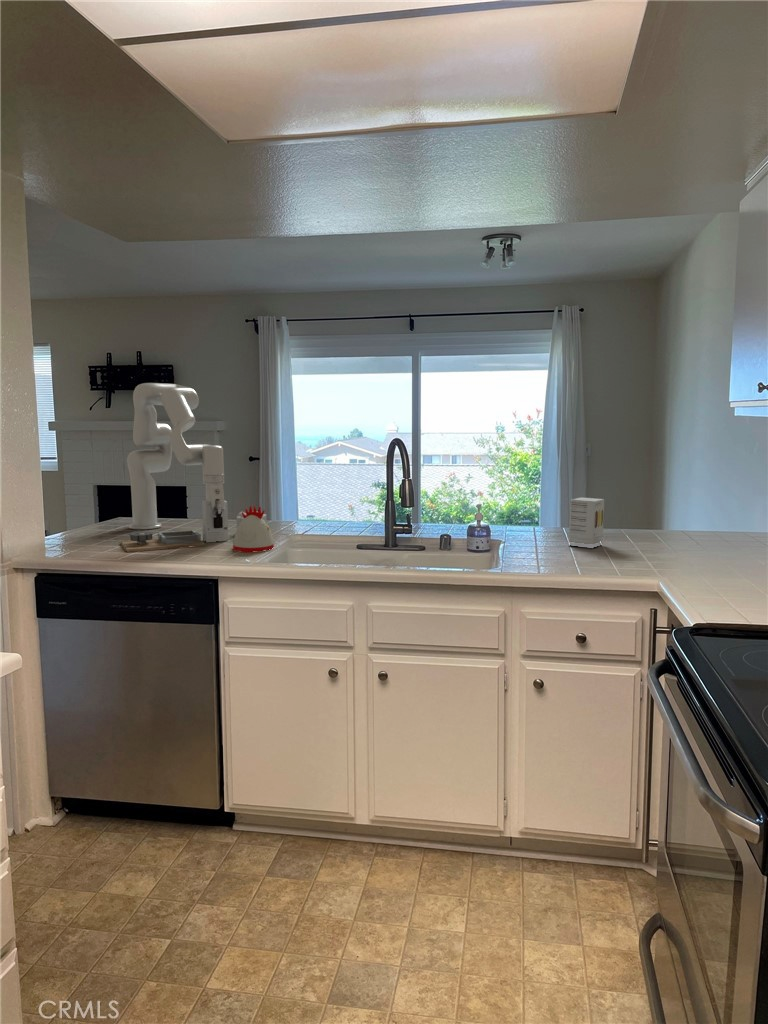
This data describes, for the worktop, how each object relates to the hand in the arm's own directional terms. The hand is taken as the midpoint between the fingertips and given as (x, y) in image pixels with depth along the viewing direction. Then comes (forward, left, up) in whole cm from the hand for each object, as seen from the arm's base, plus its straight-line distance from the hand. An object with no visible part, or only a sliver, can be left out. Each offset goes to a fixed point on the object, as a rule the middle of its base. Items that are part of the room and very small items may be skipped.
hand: (215, 526), depth 263 cm
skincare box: (0, 0, -6) cm, 6 cm away
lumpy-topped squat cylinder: (-8, +15, -6) cm, 18 cm away
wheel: (0, -26, -3) cm, 26 cm away
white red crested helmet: (+20, +8, -6) cm, 23 cm away
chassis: (0, -19, -5) cm, 20 cm away
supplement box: (+67, +116, -6) cm, 134 cm away
